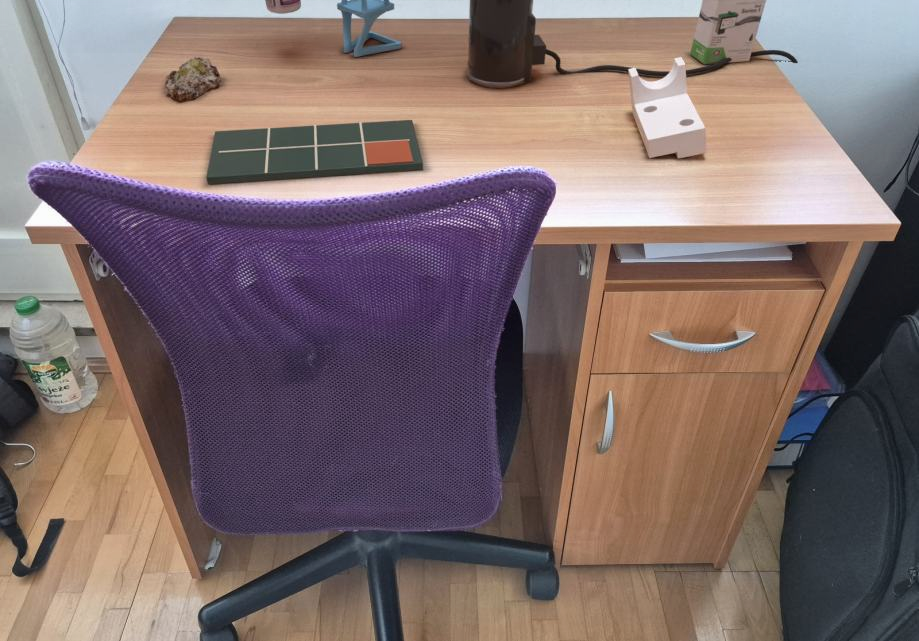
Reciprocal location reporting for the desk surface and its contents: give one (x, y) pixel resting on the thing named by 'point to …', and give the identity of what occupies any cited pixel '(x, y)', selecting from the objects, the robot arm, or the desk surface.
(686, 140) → the bracket
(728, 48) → the ink box
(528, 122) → the desk surface
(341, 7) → the chair
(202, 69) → the mineral rock
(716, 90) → the desk surface
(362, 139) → the grid board
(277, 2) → the pill bottle
